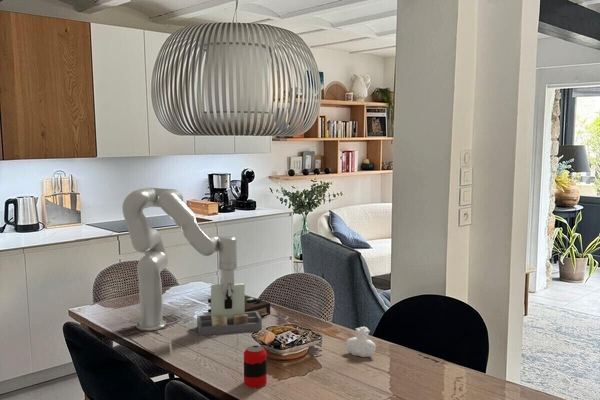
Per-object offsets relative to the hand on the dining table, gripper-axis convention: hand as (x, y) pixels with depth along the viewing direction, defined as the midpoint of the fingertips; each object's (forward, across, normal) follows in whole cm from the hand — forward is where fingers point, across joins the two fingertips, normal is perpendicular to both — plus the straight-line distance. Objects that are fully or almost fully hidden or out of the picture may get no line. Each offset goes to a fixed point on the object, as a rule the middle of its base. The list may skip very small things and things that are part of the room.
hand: (227, 307), depth 242 cm
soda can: (+10, +57, +1) cm, 58 cm away
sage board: (+8, 0, 0) cm, 8 cm away
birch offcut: (+9, +5, -4) cm, 11 cm away
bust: (+9, +41, +45) cm, 62 cm away
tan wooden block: (+8, +5, +5) cm, 11 cm away
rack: (+9, +3, 0) cm, 10 cm away
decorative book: (+10, -20, +8) cm, 23 cm away
